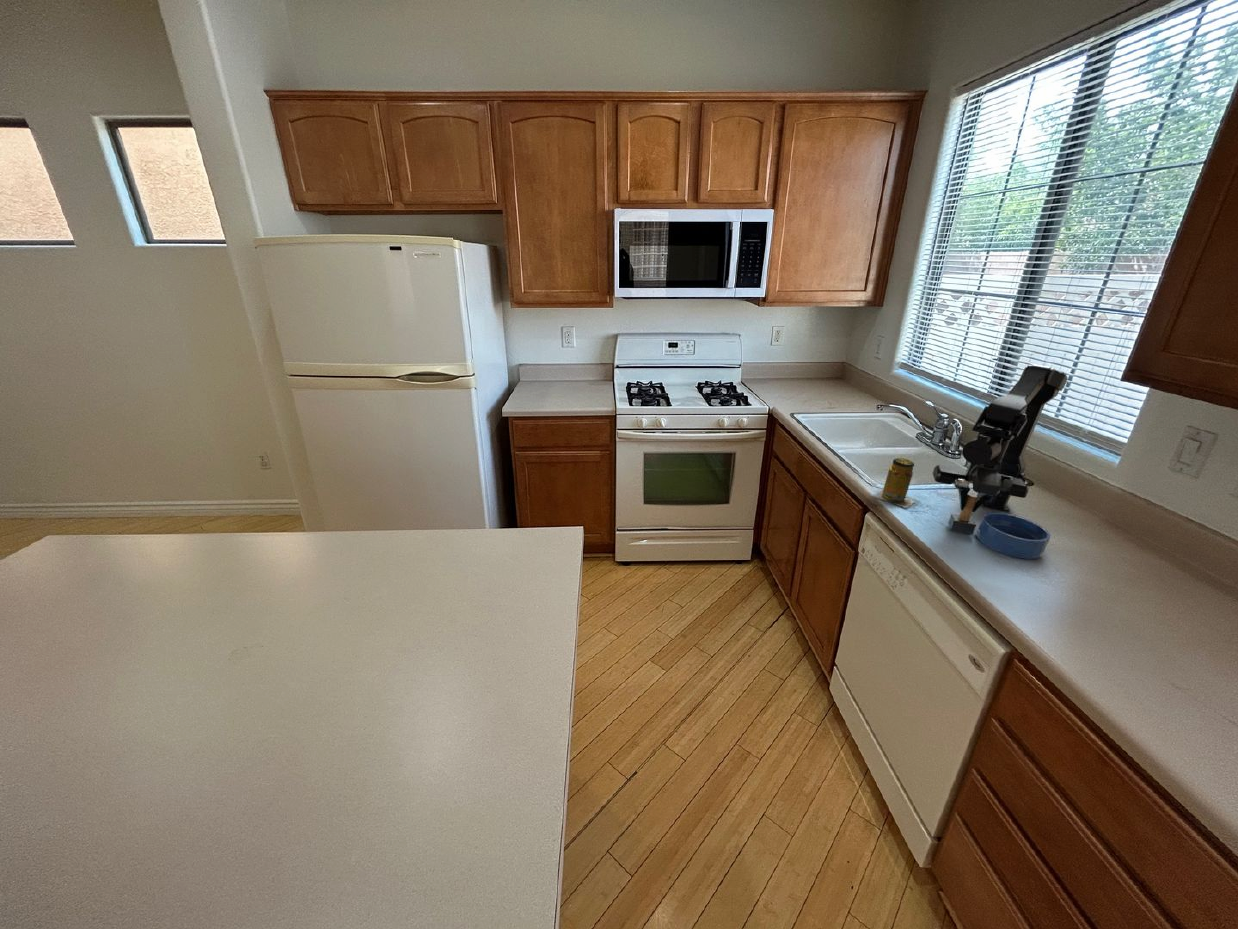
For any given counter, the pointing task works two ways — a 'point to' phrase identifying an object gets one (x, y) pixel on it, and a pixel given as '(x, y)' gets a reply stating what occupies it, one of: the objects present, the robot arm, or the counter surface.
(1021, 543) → the bowl
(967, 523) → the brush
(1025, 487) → the robot arm
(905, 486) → the condiment
